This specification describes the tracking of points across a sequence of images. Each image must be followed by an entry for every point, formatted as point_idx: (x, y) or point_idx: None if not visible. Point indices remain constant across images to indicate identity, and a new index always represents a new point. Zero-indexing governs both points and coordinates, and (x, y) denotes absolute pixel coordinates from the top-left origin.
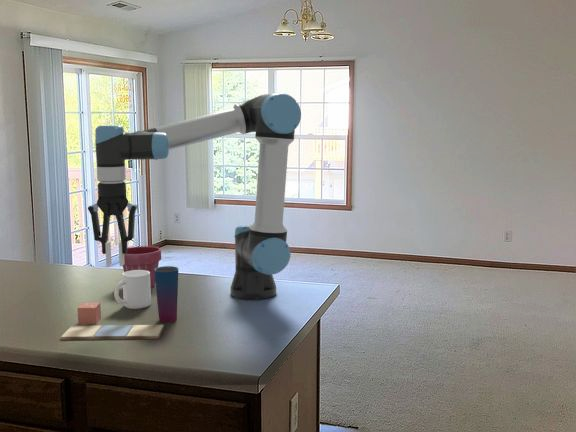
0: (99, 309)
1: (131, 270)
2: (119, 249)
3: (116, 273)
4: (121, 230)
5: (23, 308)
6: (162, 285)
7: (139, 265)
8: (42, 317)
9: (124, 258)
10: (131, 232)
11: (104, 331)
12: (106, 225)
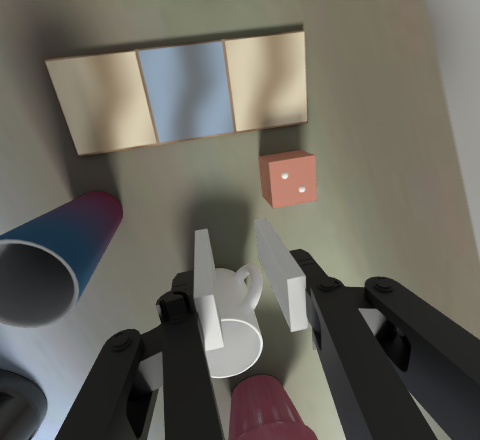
0: (268, 194)
1: (248, 367)
2: (207, 270)
3: (327, 436)
4: (185, 393)
5: (439, 235)
6: (46, 220)
7: (259, 425)
8: (389, 188)
9: (301, 437)
10: (82, 396)
11: (210, 84)
12: (371, 414)
